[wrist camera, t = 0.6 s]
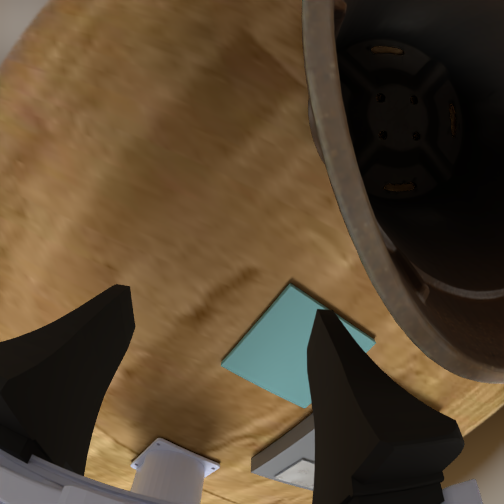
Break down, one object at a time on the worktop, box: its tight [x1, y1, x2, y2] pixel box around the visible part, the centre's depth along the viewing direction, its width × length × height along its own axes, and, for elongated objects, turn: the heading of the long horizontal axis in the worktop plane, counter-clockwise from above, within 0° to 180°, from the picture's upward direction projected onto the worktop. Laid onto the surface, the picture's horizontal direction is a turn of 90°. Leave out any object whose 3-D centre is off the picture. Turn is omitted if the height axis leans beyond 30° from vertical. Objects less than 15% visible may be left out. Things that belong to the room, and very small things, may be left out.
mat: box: [221, 283, 376, 408], centre depth 25 cm, size 9×9×1 cm
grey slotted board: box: [251, 413, 315, 491], centre depth 28 cm, size 16×14×2 cm
